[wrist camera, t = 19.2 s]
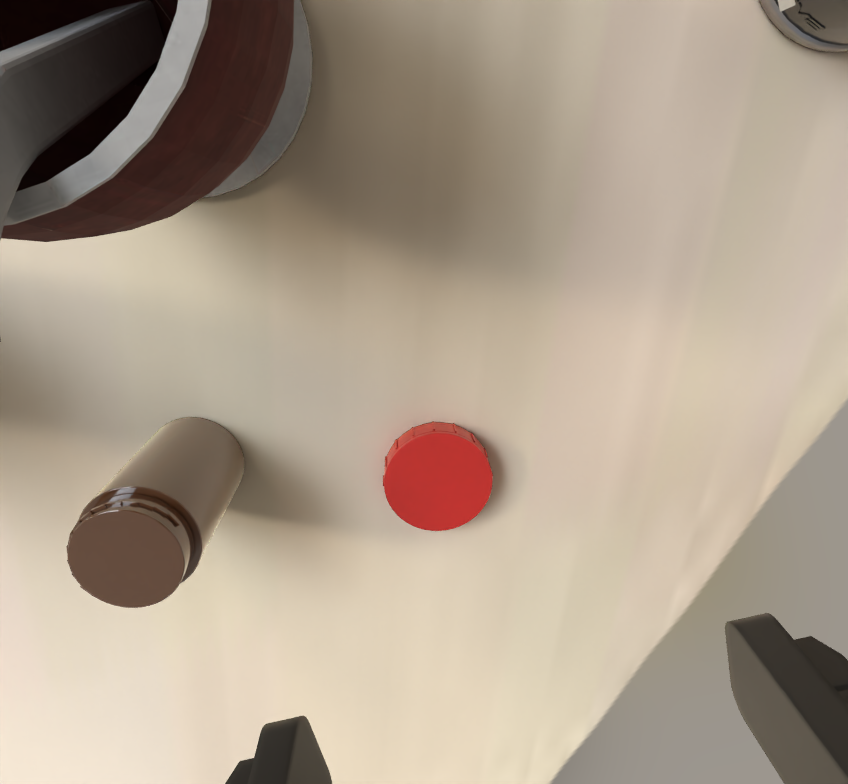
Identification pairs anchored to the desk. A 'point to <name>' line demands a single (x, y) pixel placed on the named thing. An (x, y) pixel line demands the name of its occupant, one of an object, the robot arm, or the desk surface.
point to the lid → (437, 476)
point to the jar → (156, 514)
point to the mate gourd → (141, 107)
